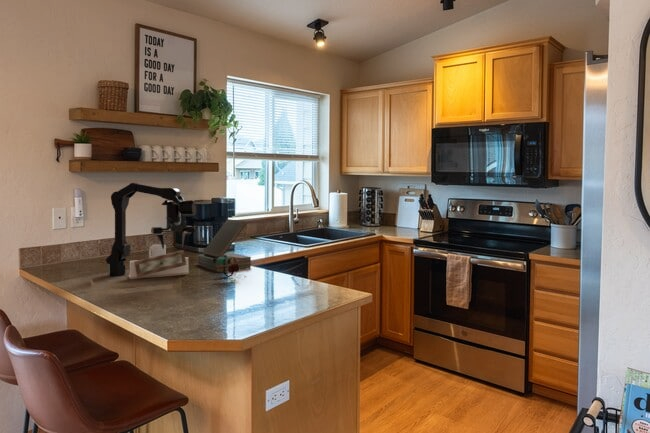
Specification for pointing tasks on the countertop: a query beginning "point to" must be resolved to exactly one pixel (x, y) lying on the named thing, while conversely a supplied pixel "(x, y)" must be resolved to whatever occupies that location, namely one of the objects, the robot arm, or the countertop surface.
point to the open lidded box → (224, 247)
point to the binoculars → (226, 261)
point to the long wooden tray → (170, 272)
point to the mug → (157, 250)
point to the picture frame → (160, 263)
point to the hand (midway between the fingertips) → (173, 248)
